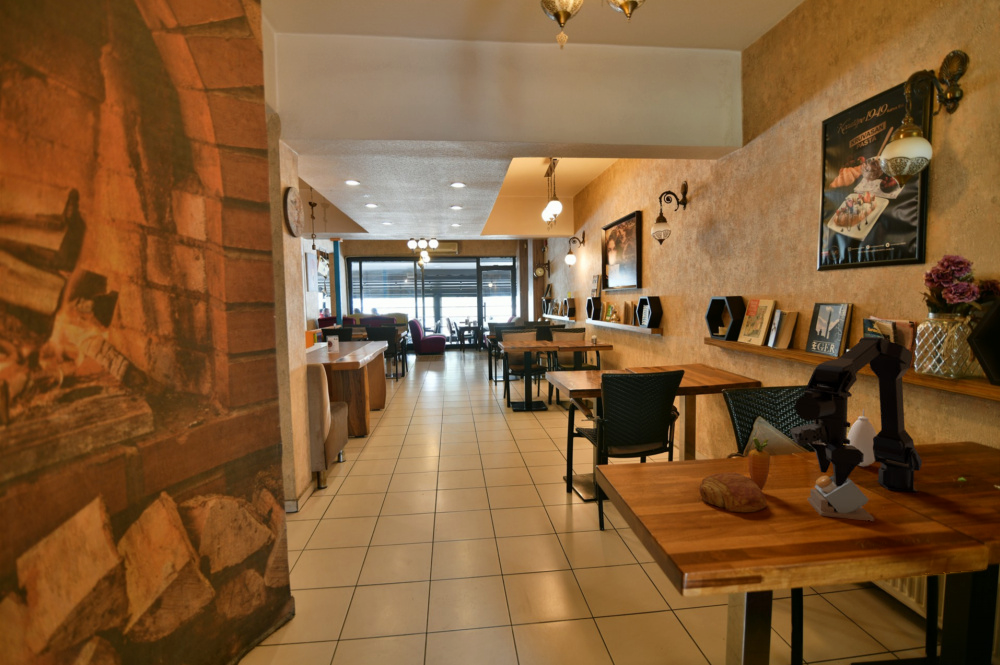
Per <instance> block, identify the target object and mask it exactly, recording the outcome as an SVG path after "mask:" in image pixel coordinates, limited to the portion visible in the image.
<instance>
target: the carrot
mask: <svg viewBox="0 0 1000 665" xmlns="http://www.w3.org/2000/svg"><path fill="white" fill-rule="evenodd" d="M752 440H753V443H754V445H753V447H754V448H755V449H752V450H750V451H749V452H748V471H749V477H750V479H752V480H753V482H754V483H755V484H756V485H757V486H758V487H759V488H760V489H761V491H763V489H764V487H765V485H766V483H767V481H768V477H769V472H770V465H771V462H770V460H771V457H770V456H771V455H770V454H769V452H767V451H765V450H764V448H765V447H767V446H768V442H769V439H768V438H765V439H764V441H763V443H762V444H761V442H760V440H759V438H757V437H756V436H755V437H753V438H752Z"/></svg>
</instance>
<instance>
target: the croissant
mask: <svg viewBox="0 0 1000 665" xmlns="http://www.w3.org/2000/svg"><path fill="white" fill-rule="evenodd" d="M698 490H699V494H700V497H701V498H702V500H703V501H704V502H706V503H708V504H710V505H713V506H716V507H718V508H720V509H724V510H725V511H728V512H732V513H733V512H734V513H754V512H758V511H760V510H762V509H764V508H766V506H767V500H766V496H765V494H764V492H763V490H761V489H760V488H759V487H758V486H757V485H756V484H755V483H754V482H753V480H752V479H751V477H747V476H746V475H744V474H742V473H737V472H722V473H714V474H711V475H708V476H705V478H703V479H702V481H701V483H700V485H699V489H698Z"/></svg>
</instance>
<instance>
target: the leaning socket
mask: <svg viewBox="0 0 1000 665" xmlns="http://www.w3.org/2000/svg"><path fill="white" fill-rule="evenodd" d="M828 477H829V478H830V479H831V480H832V481H833V482H834V483H835V479H834V473H833V474H831V475H830V476H828ZM835 485H836V484H835ZM837 487H838V488H836V489H834V490H833V491H831V492H829V493H828V494H826V493H825V492H824V491H823V490H822V489H821V488H820V487H819V486H818V485H817V484H815V485H814V488H810V494H809V497H807V501H809V502H808V503H809V504H810V505H811V506H812V508H814V510H815V511H816V512H817V513H818V515H820V516H822V517H829V518H830V517H832V518H839V519H840V518H841V519H848V520H849V519H850V520H857V521H858V520H860V521H868V520H870V522H874V521H875V518H874V516H873V515H871V514H870V513H869V512H868V511H867V510H866V509H865V508H864V507H863V506H864V505H866V504H868V502H869V501H870V499H869V498H868V497H867V496H866V495H865V493H863V491H862V490H861V489H860V488H859V487H858V486H857V485H856V484H855V483H854V481H853V480H851V479H850V478H849V477H848V478H847V479H846V480H845V482H844V483H843V485H842V486H837Z"/></svg>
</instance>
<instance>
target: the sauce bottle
mask: <svg viewBox="0 0 1000 665" xmlns="http://www.w3.org/2000/svg"><path fill="white" fill-rule="evenodd" d="M869 419H870V418H869V417H868V416H865V409H864V408H863V409H862V416H861V415H860V416H858V417H857V420H855V422H854V423H853V424H851V426H850V429H849V431H848V433H847V439H849V440H850V444H846V445H852V446H854V447H856V448H857V449H859V450H860V451H861V452H862V453H863V454H864V459H863V462H862V463H860V464H859V465H858V466H859V467H863V468H865V467H868V466H869V467H870V465H871V464H873V463H874V462H875V458H874V453H873V444H874V443H873V438H874V437H875V436H876V435H877V434H878V433H877V432H876V429H875V428H874V426H873V425H872V422H870V420H869Z"/></svg>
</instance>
